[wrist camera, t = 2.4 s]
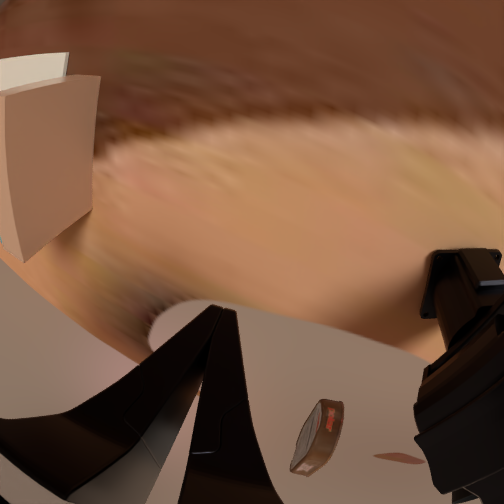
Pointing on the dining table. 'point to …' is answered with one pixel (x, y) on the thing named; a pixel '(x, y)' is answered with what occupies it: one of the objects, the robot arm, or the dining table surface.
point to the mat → (31, 69)
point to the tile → (45, 160)
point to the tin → (318, 437)
